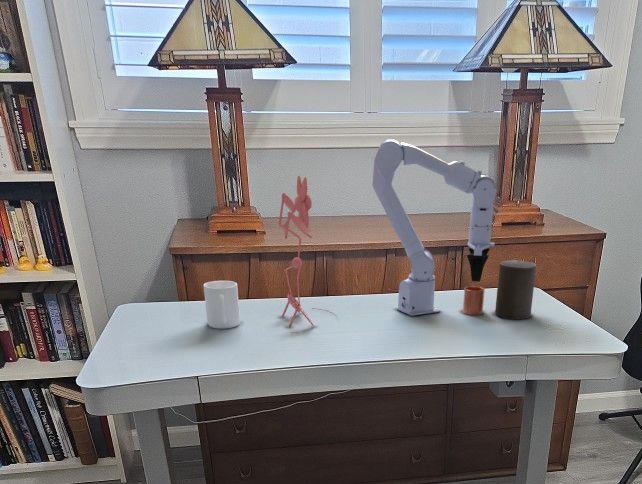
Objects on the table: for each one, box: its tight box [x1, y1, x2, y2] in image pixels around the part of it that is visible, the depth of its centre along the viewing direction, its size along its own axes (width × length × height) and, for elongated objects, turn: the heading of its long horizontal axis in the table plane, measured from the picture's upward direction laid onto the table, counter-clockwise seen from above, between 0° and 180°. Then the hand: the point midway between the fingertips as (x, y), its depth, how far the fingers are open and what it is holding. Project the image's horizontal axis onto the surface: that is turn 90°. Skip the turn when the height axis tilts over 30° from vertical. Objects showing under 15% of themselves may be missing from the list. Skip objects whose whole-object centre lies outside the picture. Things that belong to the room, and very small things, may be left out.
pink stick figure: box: [278, 175, 339, 334], centre depth 176 cm, size 15×26×35 cm, turn 19°
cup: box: [203, 280, 241, 330], centre depth 176 cm, size 8×12×10 cm
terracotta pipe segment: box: [462, 285, 486, 316], centre depth 192 cm, size 5×6×6 cm
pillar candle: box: [494, 258, 537, 320], centre depth 188 cm, size 10×10×15 cm
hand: (476, 277), depth 190 cm, fingers open, 7 cm apart
